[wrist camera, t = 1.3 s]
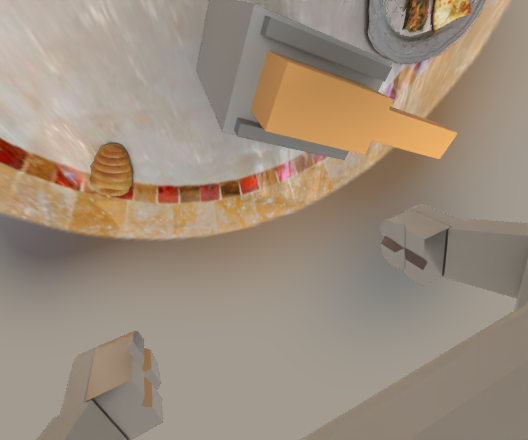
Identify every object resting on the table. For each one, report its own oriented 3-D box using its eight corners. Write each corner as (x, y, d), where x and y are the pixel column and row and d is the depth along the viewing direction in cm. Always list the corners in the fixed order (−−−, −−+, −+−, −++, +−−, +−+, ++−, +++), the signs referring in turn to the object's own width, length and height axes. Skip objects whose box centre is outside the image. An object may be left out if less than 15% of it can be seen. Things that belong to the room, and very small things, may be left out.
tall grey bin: (210, -5, 41) (259, 5, 20) (295, 30, 47) (402, 66, 26) (196, 70, 46) (225, 138, 26) (274, 94, 52) (350, 165, 31)
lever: (268, 49, 24) (288, 61, 20) (439, 112, 32) (476, 129, 28) (250, 110, 26) (265, 131, 23) (413, 153, 35) (443, 173, 31)
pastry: (92, 137, 48) (88, 146, 46) (136, 145, 51) (135, 154, 48) (91, 185, 53) (87, 196, 50) (131, 190, 56) (130, 201, 53)
